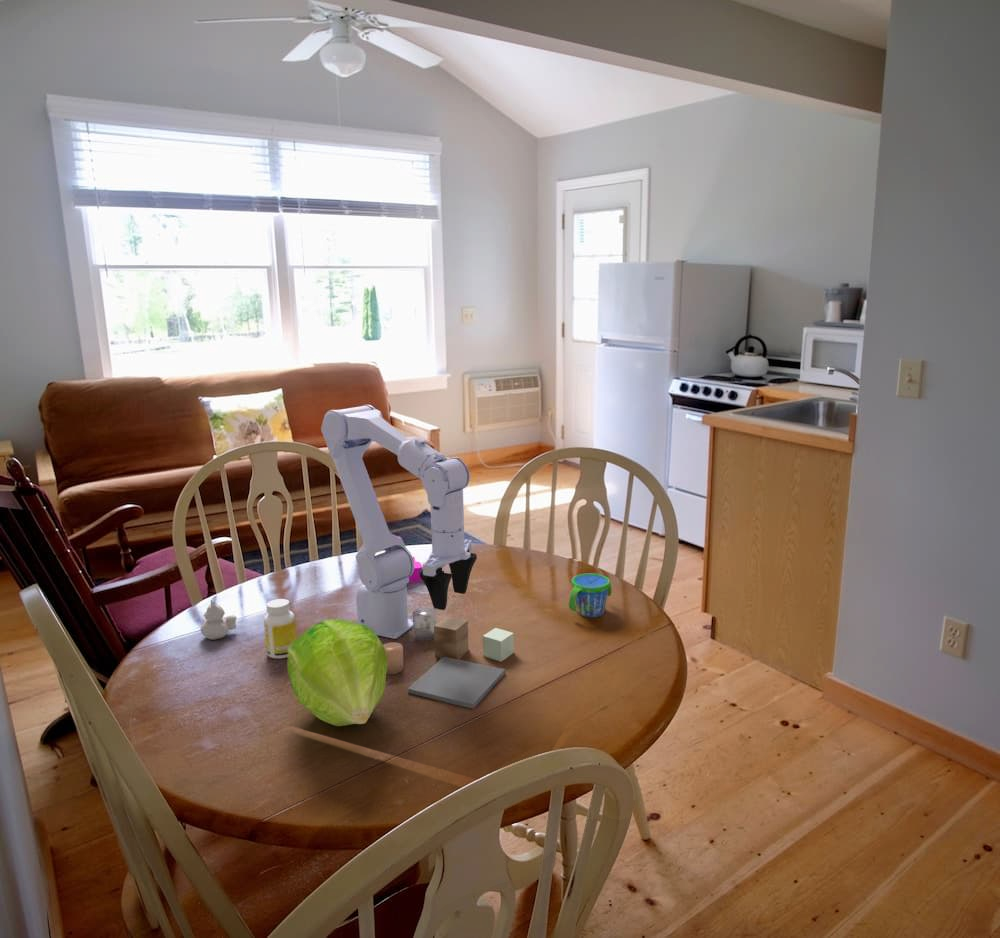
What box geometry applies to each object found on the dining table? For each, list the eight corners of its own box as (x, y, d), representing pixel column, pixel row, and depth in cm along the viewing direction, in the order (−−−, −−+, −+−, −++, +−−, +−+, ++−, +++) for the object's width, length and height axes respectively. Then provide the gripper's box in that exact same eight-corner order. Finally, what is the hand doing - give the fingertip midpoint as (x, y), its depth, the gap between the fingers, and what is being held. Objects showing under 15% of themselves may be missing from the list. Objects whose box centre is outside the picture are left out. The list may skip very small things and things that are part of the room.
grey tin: (409, 639, 137) (408, 615, 136) (421, 630, 141) (420, 606, 140) (429, 643, 135) (428, 618, 134) (440, 633, 139) (439, 609, 138)
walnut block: (435, 656, 130) (433, 626, 129) (447, 646, 134) (446, 616, 133) (457, 661, 128) (456, 630, 127) (468, 650, 132) (467, 620, 131)
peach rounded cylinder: (376, 671, 125) (374, 650, 124) (389, 661, 129) (387, 640, 128) (395, 676, 123) (394, 654, 122) (408, 665, 127) (407, 644, 126)
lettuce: (302, 781, 96) (292, 678, 93) (288, 698, 117) (280, 611, 113) (409, 756, 101) (404, 657, 98) (378, 681, 122) (373, 597, 118)
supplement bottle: (303, 648, 134) (299, 599, 131) (283, 662, 129) (279, 611, 127) (281, 643, 136) (276, 595, 134) (260, 656, 131) (255, 606, 129)
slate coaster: (408, 693, 118) (407, 688, 118) (443, 660, 128) (443, 656, 128) (473, 708, 113) (473, 704, 113) (505, 673, 123) (504, 669, 123)
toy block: (423, 586, 163) (422, 554, 162) (396, 589, 161) (394, 558, 160) (411, 564, 177) (409, 535, 175) (385, 567, 175) (384, 538, 174)
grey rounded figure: (201, 635, 140) (196, 596, 138) (236, 627, 143) (232, 590, 141) (203, 646, 135) (198, 606, 134) (239, 638, 138) (235, 600, 136)
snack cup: (582, 628, 140) (582, 592, 139) (556, 615, 146) (556, 580, 145) (623, 613, 147) (624, 579, 145) (597, 601, 153) (598, 568, 151)
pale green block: (483, 656, 130) (482, 635, 129) (495, 647, 133) (495, 627, 132) (501, 662, 128) (501, 641, 127) (513, 653, 131) (513, 633, 130)
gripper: (447, 543, 118) (450, 620, 121) (486, 519, 130) (487, 589, 133) (410, 538, 120) (414, 613, 124) (452, 515, 133) (454, 583, 136)
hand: (450, 600), depth 129 cm, fingers open, 7 cm apart
